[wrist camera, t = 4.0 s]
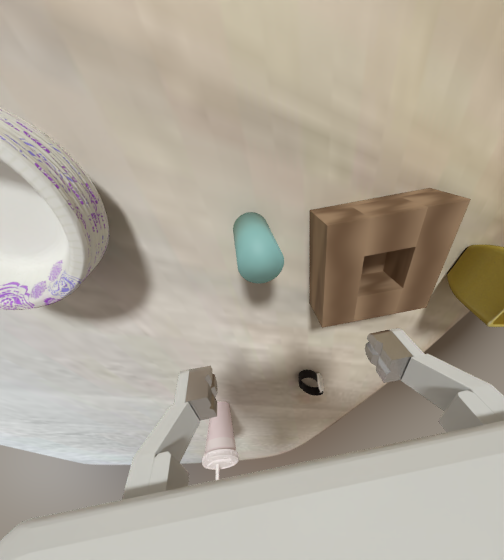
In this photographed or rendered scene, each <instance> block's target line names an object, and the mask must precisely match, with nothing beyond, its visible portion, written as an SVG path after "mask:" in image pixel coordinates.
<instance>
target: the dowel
mask: <svg viewBox="0 0 504 560" xmlns="http://www.w3.org/2000/svg"><path fill="white" fill-rule="evenodd" d="M233 233H234V241H235V249H236V257H237V264H238V270H239V272H240V274H241V276H242V277H243V278H244V279H246V280H247V281H249V282H252V283H265V282H268V281H271V280H273V279H274V278H275V277H277V276H278V275H279V273H280V272H281V270H282V268H283V265H284V257H283V254H282V252H281V250H280V248H279V246H278V244H277V242H276V240H275V238H274V236H273V234H272V232H271V230H270V228H269V226H268V224H267V222H266V220H265V219H264V218H263V217H262V216H261V215H259V214H257V213H253V212H250V213H245V214H243V215H241V216H240V217H239V218H238V219H237V220H236V221H235V223H234V227H233Z"/></svg>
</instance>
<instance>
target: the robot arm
mask: <svg viewBox="0 0 504 560" xmlns="http://www.w3.org/2000/svg"><path fill="white" fill-rule="evenodd" d="M367 339H368V341H369V342H368V343H367V344H366V346H365V351H366V355H367V357H368V359H369V361H370V362H371V363H372V364H374V365H375V366H376V371H377V373H378V374H379V376H380V377H381V379H382V381H383V382H384V383H385V382H391V381H397V380H401V381H402V382H404V383H405V384H406V385H408V386H409V387H411V388H412V389H414V390H415V391H416V392H418V393H419V394H421V395H422V396H423V397H425V398H427V399H428V400H429V401H430V402H432V403H433V404H435V405H436V406H437V407H439V408H440V409H442V410H443V411H444V413H443V414H442V415H441V417H440V418H439V423H440V424H441V426H442V427H443V429H444V430H445V431H446V433H441V434H437V435H432V436H427V437H422V438H417V439H413V440H407V441H403V442H398V443H393V444H388V445H383V446H379V447H374V448H369V449H364V450H359V451H355V452H350V453H345V454H340V455H335V456H331V457H326V458H321V459H316V460H312V461H306V462H302V463H297V464H292V465H287V466H283V467H278V468H273V469H269V470H264V471H258V472H253V473H249V474H244V475H239V476H234V477H229V478H225V479H220V480H215V481H211V482H205V483H201V484H196V485H191V486H188V482H189V473H188V471H187V470H186V469H185V468H184V467H183V466H182V465H181V464H180V461H181V459H182V457H183V455H184V453H185V451H186V449H187V447H188V445H189V443H190V441H191V439H192V437H193V435H194V433H195V431H196V429H197V427H198V425H199V423H200V420H204V419H209V418H213V417H217V401H216V398H215V397H216V395H217V381H216V377H215V375H214V374H212V368H211V366H206V367H201V368H195V369H189V370H184V371H180V373H179V375H178V381H177V387H176V393H175V399H174V405H171V406H170V407H169V408H168V410H167V411H166V412H165V414H164V415H163V417H162V418H161V419H160V421H159V422H158V424H157V425H156V426H155V428H154V429H153V431H152V432H151V433H150V435H149V436H148V438H147V439H146V440H145V442H144V443H143V444H142V446H141V447H140V449H139V450H138V451H137V453H136V454H135V456H134V457H133V460H132V464H131V468H130V472H129V475H128V479H127V482H126V486H125V490H124V494H123V497H122V500H119V501H114V502H109V503H105V504H100V505H95V506H90V507H86V508H81V509H76V510H72V511H67V512H62V513H57V514H52V515H47V516H42V517H36V518H32V519H29V520H26V521H23V522H21V523H20V524H19V525H17V526H16V527H15V528H13V529H12V530H11V531H10V532H9V533H8V534H7V535H6V536H5V537H4V538H3V539H2V540H1V541H0V560H504V396H503V395H502V394H501V393H500V392H499V391H498V390H497V389H495V388H494V387H493V386H492V385H491V384H489V383H487V382H485V381H483V380H481V379H479V378H477V377H475V376H473V375H471V374H469V373H466V372H464V371H462V370H460V369H458V368H456V367H454V366H452V365H450V364H448V363H446V362H444V361H442V360H439V359H438V358H436V357H434V356H431V355H429V354H424V353H423V352H422V351H421V350H420V348H419V347H418V346H417V345H416V344H415V343H414V342H413V341H412V340H411V339H410V338H409V337H408V336H407V335H406V333H405V332H404V331H403V330H402V329H400V328H396V329H391V330H385V331H380V332H376V333H371V334H369V335H368V337H367Z"/></svg>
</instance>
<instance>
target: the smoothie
mask: <svg viewBox="0 0 504 560" xmlns="http://www.w3.org/2000/svg"><path fill="white" fill-rule="evenodd" d="M238 455H239V454H238V452H237V451H236V445H235V439H234V432H233V426H232V419H231V413H230V406H229V403H228V402H225V401H219V402H217V417H213V418H210V420H209V427H208V434H207V440H206V447H205V454H204V455H203V457H202V465H203V467H205V468H207V469H216V480H219V469H224V468H228V467H231V466H233V465H235V464H236V463H237V462H238Z"/></svg>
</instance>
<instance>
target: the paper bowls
mask: <svg viewBox="0 0 504 560" xmlns="http://www.w3.org/2000/svg"><path fill="white" fill-rule="evenodd" d="M109 233H110V231H109V225H108V218H107V214H106V211H105V208H104V204H103V202H102V200H101V197H100V195H99V193H98V191H97V190H96V188H95V186H94V184H93V183H92V181H91V180H90V178H89V176H88V175H87V174H86V173H85V172H84V170H83V169H82V168H81V167H80V166H79V164H78V163H77V162H76V161H75V160H74V159H73V158H72V157H71V156H70V155H69V154H68V153H67V152H66V151H65V150H64V149H63V148H61V147H60V146H59V145H58V144H57V143H56V142H54V141H53V140H52V139H51V138H49V137H48V136H47V135H46V134H44V133H43V132H42V131H40V130H39V129H37V128H36V127H35V126H33V125H31V124H30V123H28V122H26V121H25V120H23V119H21V118H20V117H18V116H16V115H14V114H12V113H10V112H8V111H6V110H4V109H2V108H0V309H6V310H8V309H13V310H18V309H19V310H22V309H30V308H38V307H41V306H46V305H49V304H52V303H55V302H57V301H60V300H62V299H63V298H65V297H67V296H68V295H70V294H71V293H72V292H74V291H75V290H76V289H77V288H78V286H79V285H80V284H81V283H82V282H83V281H84V279H85V278H87V276H88V275H89V274H90V272H91V271H92V270H93V269H94V268H95V267H96V266H97V264H98V263H99V262H100V260H101V259H102V257H103V255H104V253H105V252H106V249H107V246H108V241H109Z"/></svg>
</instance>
